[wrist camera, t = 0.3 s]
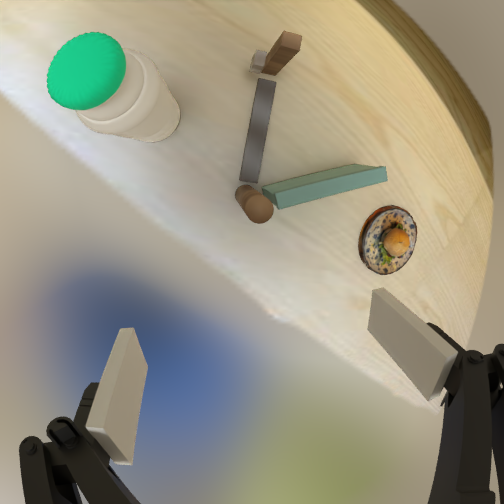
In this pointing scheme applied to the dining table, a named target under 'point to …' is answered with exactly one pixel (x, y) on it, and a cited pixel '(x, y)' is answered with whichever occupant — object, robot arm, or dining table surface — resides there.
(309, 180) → the gate
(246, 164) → the gate frame
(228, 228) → the dining table surface
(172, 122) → the water bottle
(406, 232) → the burger
